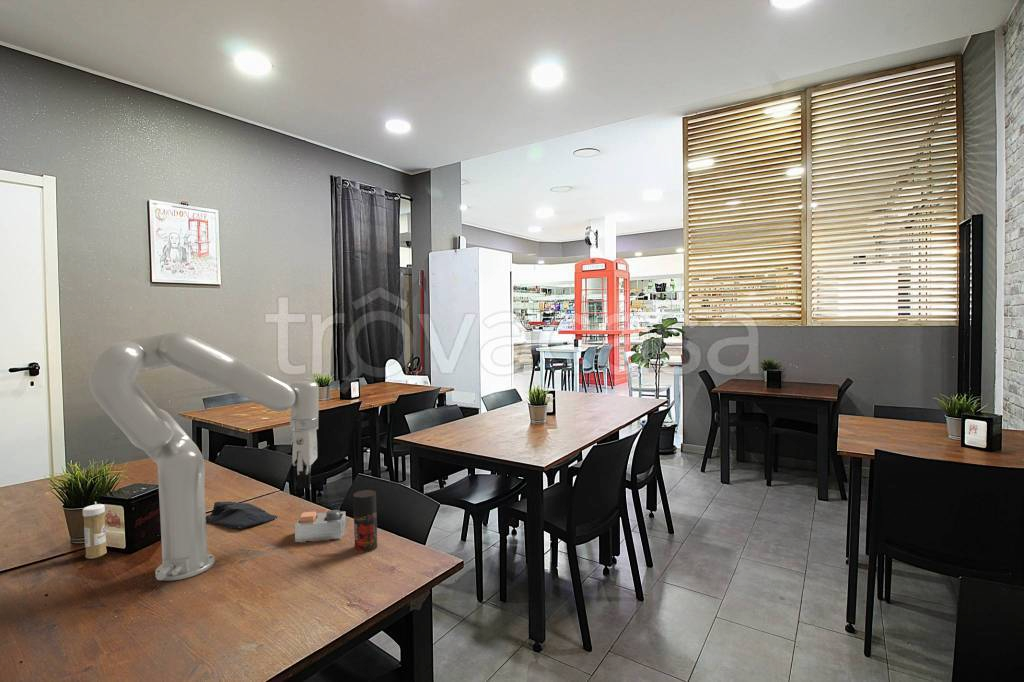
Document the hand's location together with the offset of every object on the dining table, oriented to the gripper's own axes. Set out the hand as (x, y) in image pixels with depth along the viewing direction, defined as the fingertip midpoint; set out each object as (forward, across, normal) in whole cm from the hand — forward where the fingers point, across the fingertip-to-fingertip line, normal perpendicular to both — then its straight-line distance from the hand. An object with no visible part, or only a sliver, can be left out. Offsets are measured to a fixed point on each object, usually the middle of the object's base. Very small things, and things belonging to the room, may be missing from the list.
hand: (303, 487), depth 143 cm
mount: (+14, +1, -5) cm, 15 cm away
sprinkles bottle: (+17, 0, +53) cm, 56 cm away
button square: (+13, +1, -1) cm, 13 cm away
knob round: (+13, +1, -8) cm, 15 cm away
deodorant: (+14, -10, -19) cm, 26 cm away
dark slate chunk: (+16, +19, +24) cm, 34 cm away
